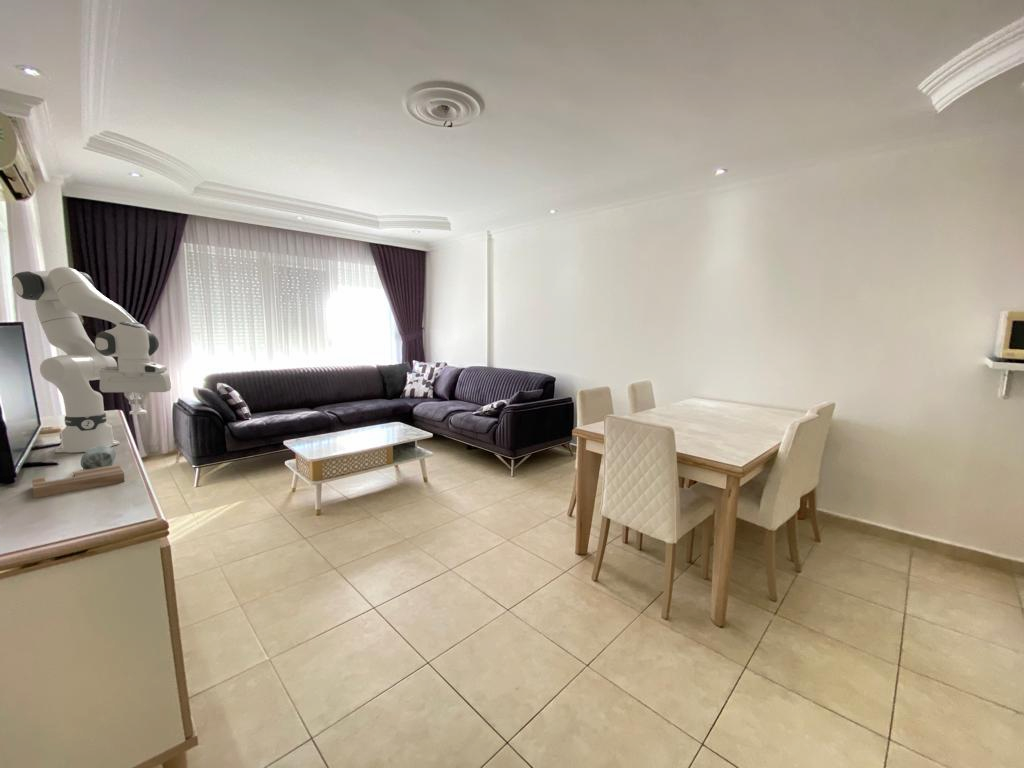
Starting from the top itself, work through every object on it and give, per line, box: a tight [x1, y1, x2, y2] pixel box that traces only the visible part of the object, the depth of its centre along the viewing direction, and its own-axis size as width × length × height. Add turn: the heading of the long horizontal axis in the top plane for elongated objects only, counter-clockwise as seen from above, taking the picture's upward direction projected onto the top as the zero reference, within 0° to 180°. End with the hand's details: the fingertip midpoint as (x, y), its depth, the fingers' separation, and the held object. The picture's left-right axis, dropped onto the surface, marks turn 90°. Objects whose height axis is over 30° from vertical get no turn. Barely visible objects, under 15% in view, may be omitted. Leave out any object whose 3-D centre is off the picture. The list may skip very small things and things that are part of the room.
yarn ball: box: [80, 446, 117, 470], centre depth 150 cm, size 14×10×10 cm
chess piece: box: [128, 392, 148, 416], centre depth 155 cm, size 5×5×10 cm
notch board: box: [31, 464, 125, 499], centre depth 136 cm, size 12×20×3 cm, turn 139°
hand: (137, 404), depth 155 cm, fingers closed on chess piece
